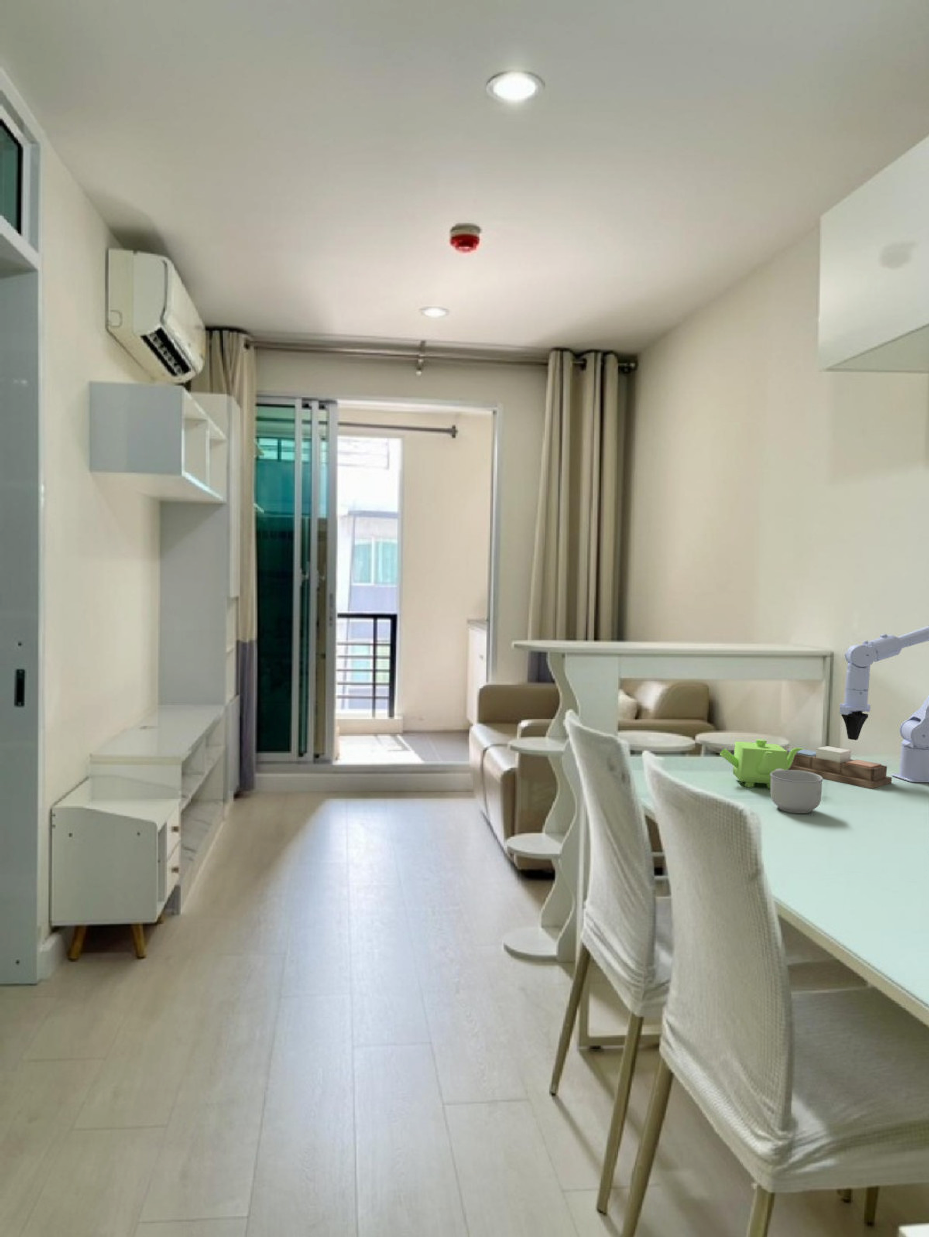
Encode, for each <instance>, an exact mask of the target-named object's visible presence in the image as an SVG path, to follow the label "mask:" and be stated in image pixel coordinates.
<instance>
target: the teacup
mask: <svg viewBox="0 0 929 1237" xmlns="http://www.w3.org/2000/svg"><path fill="white" fill-rule="evenodd" d="M770 776H771V789H770V798H771V801H772V802H773V804H774V805H775V806H777V807H778V809H780V810H781V811H784V812H787V813H791V814H809V813H811V812H812V811H813V810H816V809H817V808H818V807H819V805H820V803H821V799H822V790H823V779H824V778H822V777H821V776H820V775H818V774H815V773H811V772H806V771H799V770H783V769H776V770H775V771H773V772H771V773H770Z"/></svg>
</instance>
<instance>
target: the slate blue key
mask: <svg viewBox="0 0 929 1237" xmlns="http://www.w3.org/2000/svg"><path fill="white" fill-rule="evenodd" d="M791 750H792V749H788V750H787V751H788V752H789V753H790V751H791ZM796 754H799V755H804V756H810V757H813V756H816V751H815V750H810V749H809V750H808V749H805V748H804V749H802V750H800V751H798V752H797V753H796Z"/></svg>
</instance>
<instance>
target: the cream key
mask: <svg viewBox="0 0 929 1237" xmlns="http://www.w3.org/2000/svg"><path fill="white" fill-rule="evenodd" d="M815 752H816V758H820V759H825V760H830V761H835V762H840V763H842V762H846V761H850V759H851V757H852V750H850V749H846V748H840V747H839V748H838V747H834V746H828V745H826V746H821V747H816V751H815Z"/></svg>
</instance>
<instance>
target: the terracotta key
mask: <svg viewBox="0 0 929 1237" xmlns="http://www.w3.org/2000/svg"><path fill="white" fill-rule="evenodd" d="M846 764H850V765H855V766H860V767H865V768H871V769H874V768H878V767H881V765H882V764H881V763H876V762H872V761H866V760H861V759H852V761H848V762H846Z"/></svg>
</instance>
